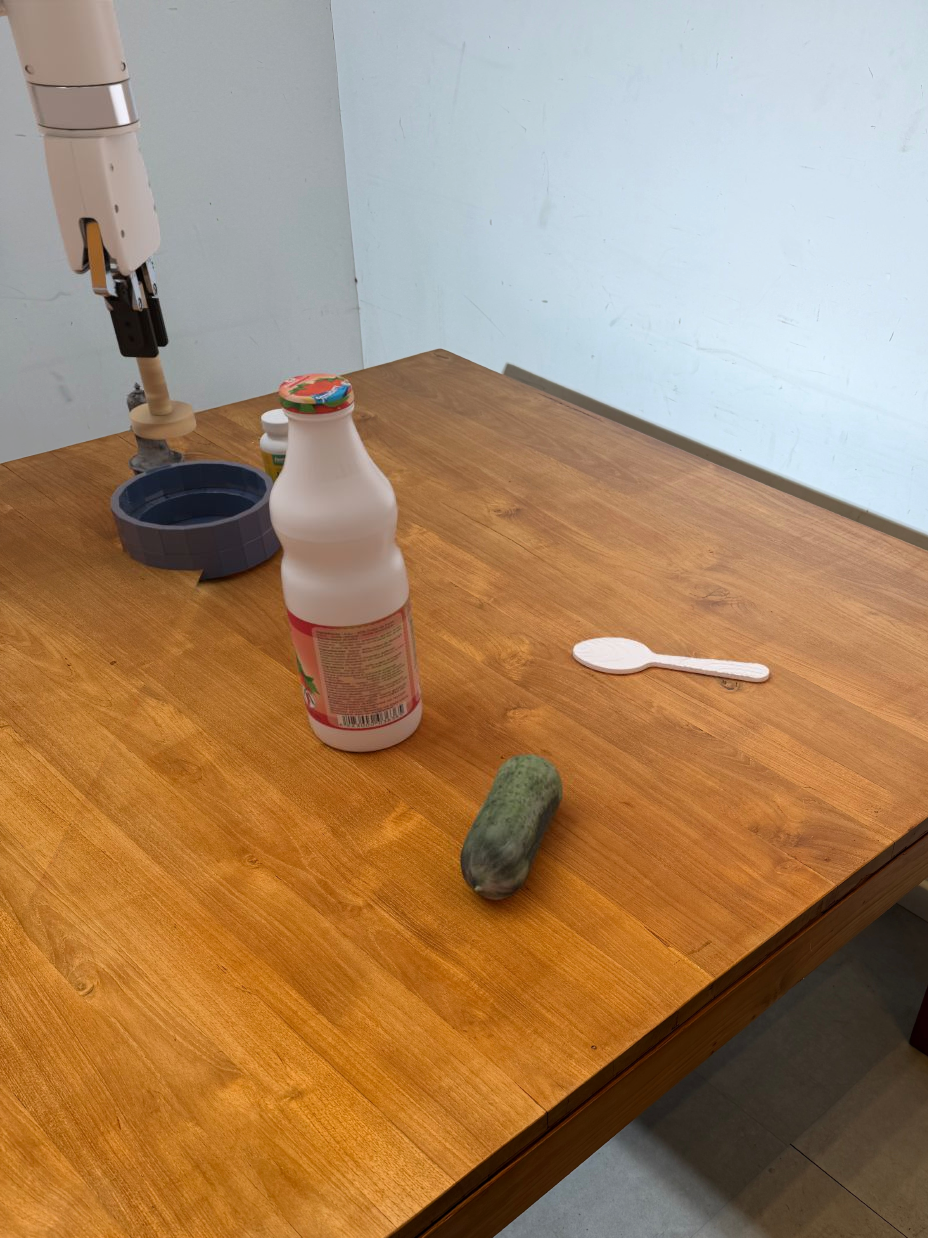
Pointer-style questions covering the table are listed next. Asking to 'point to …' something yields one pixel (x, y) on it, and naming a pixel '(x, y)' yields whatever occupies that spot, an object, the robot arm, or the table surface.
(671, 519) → the table surface
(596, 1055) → the table surface
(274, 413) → the supplement bottle
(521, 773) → the vegetable
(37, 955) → the table surface
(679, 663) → the spoon
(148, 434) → the wooden masher
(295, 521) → the fruit juice
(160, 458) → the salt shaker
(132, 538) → the bowl
